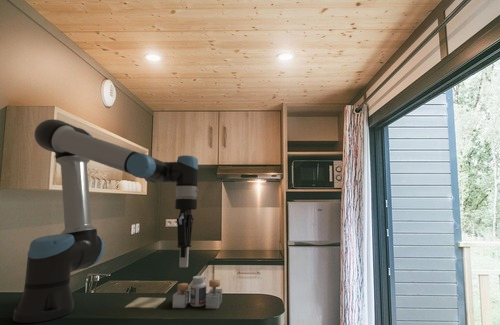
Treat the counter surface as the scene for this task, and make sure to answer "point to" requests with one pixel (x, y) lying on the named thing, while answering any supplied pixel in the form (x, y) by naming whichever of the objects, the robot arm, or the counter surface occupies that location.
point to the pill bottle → (198, 292)
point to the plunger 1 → (182, 287)
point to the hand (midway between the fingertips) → (183, 266)
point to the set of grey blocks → (184, 297)
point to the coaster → (145, 303)
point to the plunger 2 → (214, 284)
